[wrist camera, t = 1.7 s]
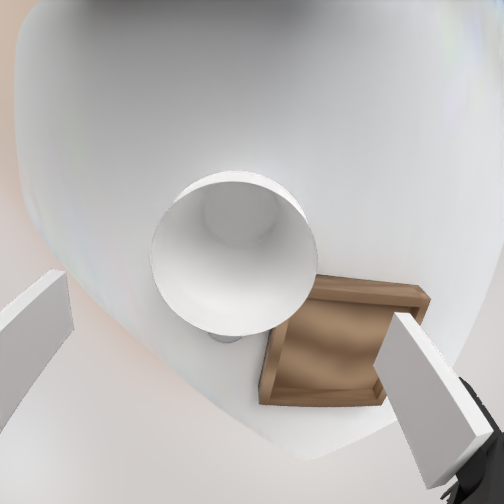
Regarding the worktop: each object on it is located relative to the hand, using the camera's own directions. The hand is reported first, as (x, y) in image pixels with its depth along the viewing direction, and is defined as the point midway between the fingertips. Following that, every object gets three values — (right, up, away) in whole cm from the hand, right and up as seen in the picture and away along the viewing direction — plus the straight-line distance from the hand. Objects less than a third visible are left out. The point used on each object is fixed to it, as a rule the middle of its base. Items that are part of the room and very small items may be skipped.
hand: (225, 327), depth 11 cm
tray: (+10, -7, +21) cm, 24 cm away
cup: (0, +6, +16) cm, 17 cm away
